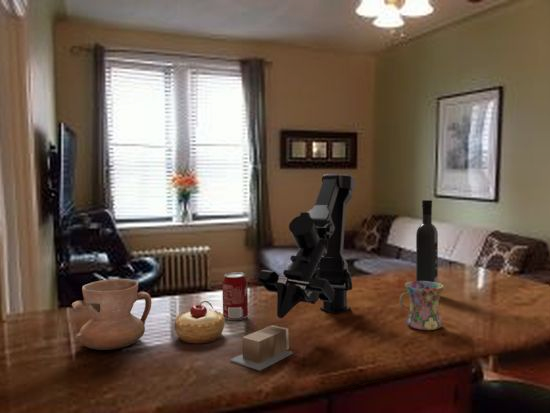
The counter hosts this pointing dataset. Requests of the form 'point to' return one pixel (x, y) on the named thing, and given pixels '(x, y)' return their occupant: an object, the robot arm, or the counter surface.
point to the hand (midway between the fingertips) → (279, 317)
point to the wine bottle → (427, 247)
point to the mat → (263, 364)
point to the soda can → (235, 296)
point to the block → (265, 343)
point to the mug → (423, 304)
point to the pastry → (199, 325)
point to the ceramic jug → (112, 314)
